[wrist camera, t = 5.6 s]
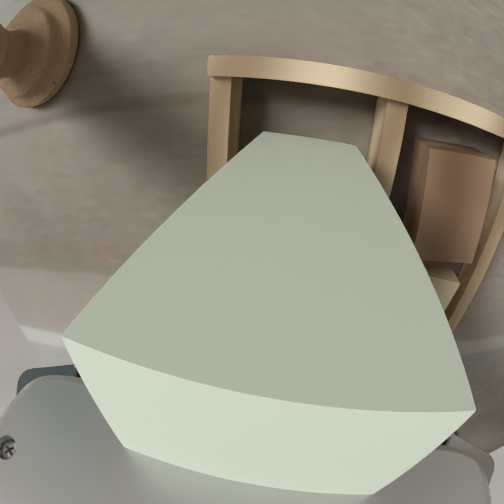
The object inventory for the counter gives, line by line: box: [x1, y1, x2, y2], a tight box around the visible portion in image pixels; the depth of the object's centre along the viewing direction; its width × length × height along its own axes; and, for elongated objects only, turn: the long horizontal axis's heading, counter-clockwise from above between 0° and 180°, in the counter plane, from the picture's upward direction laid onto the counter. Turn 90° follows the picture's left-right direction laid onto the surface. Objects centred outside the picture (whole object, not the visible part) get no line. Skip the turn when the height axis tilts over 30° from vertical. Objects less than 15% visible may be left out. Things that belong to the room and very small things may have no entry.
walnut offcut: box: [403, 138, 496, 263], centre depth 14 cm, size 4×6×3 cm, turn 3°
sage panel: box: [61, 131, 476, 494], centre depth 10 cm, size 4×11×12 cm, turn 176°
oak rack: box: [207, 55, 504, 334], centre depth 16 cm, size 18×17×3 cm
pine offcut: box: [422, 261, 460, 311], centre depth 18 cm, size 4×5×3 cm
